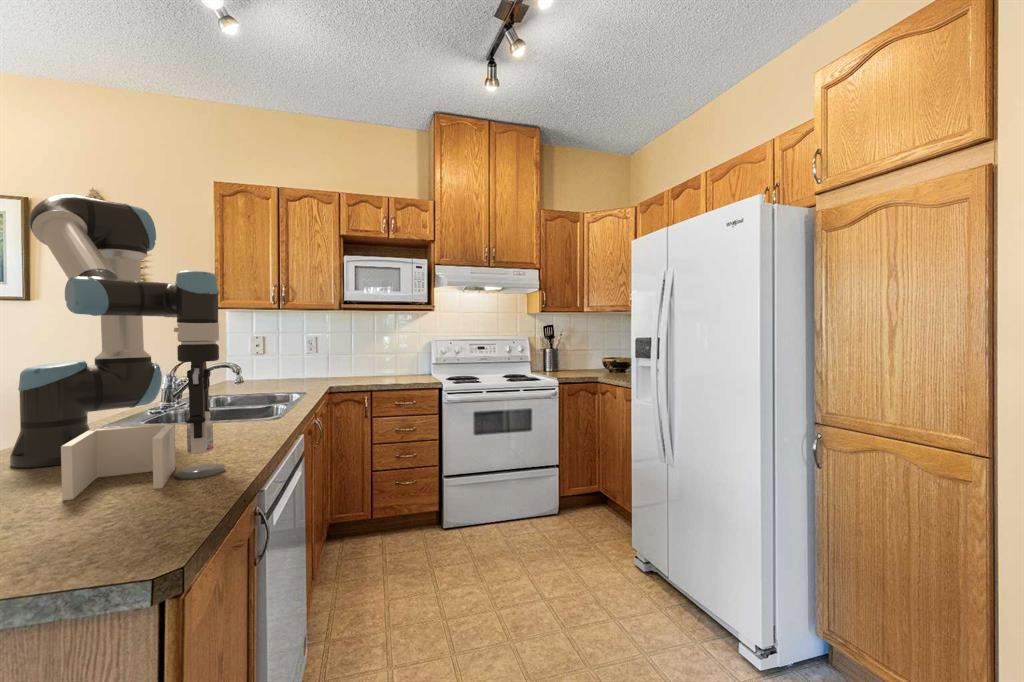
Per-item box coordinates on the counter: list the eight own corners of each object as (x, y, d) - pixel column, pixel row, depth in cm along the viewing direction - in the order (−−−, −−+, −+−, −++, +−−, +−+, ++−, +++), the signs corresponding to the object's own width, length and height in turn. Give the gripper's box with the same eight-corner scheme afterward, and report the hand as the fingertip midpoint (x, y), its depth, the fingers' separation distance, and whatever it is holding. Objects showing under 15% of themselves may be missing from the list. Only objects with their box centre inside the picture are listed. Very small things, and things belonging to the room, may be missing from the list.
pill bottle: (207, 447, 106) (207, 410, 106) (217, 450, 104) (216, 412, 103) (183, 452, 103) (182, 413, 102) (192, 455, 100) (191, 415, 100)
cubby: (90, 476, 101) (89, 429, 100) (175, 467, 108) (174, 423, 107) (62, 500, 87) (60, 446, 86) (162, 487, 94) (161, 437, 93)
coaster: (178, 470, 105) (178, 466, 105) (225, 465, 109) (225, 461, 109) (171, 482, 97) (171, 478, 97) (223, 475, 101) (222, 472, 101)
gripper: (183, 342, 109) (185, 443, 109) (170, 344, 93) (172, 462, 93) (221, 342, 112) (223, 439, 113) (215, 343, 96) (217, 457, 97)
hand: (200, 449), depth 103 cm, fingers closed on pill bottle, 5 cm apart
